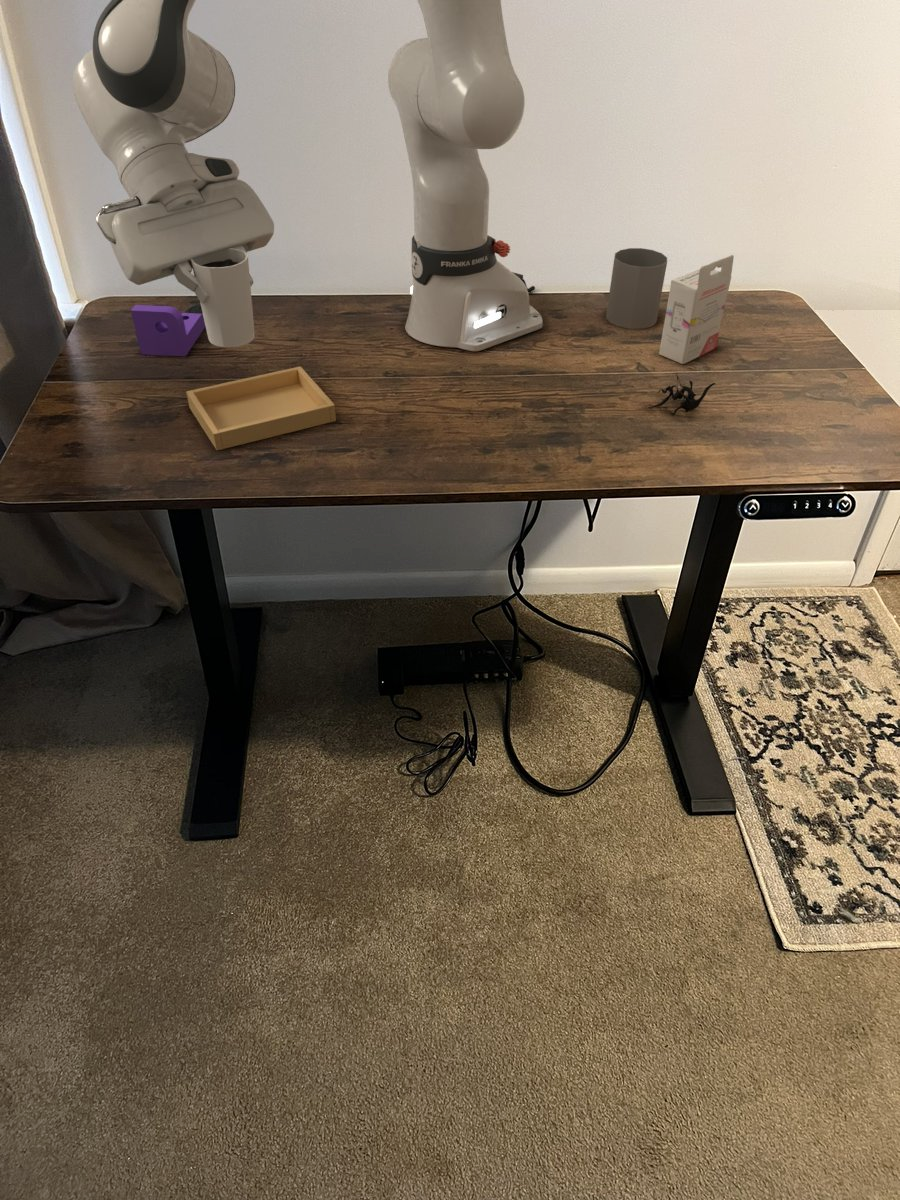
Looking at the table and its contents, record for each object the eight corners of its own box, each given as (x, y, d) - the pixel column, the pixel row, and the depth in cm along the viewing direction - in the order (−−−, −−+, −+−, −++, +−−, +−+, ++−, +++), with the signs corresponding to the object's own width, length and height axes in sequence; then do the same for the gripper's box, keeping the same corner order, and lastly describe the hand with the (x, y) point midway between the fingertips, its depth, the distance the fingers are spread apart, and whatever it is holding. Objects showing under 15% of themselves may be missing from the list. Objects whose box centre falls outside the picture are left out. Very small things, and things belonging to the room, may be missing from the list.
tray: (302, 381, 125) (300, 365, 124) (336, 420, 117) (334, 404, 115) (189, 407, 119) (185, 391, 117) (216, 450, 111) (213, 434, 109)
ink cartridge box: (690, 339, 138) (709, 245, 128) (715, 349, 135) (738, 254, 125) (656, 354, 134) (674, 258, 124) (682, 365, 131) (702, 268, 121)
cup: (620, 303, 148) (629, 244, 141) (664, 316, 144) (676, 255, 138) (597, 320, 143) (605, 259, 136) (642, 333, 139) (652, 271, 132)
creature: (637, 410, 123) (673, 424, 116) (637, 372, 120) (675, 385, 114) (680, 398, 125) (719, 411, 119) (682, 361, 123) (721, 373, 116)
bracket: (185, 356, 131) (176, 312, 126) (141, 354, 131) (130, 310, 126) (207, 323, 139) (200, 281, 135) (166, 321, 140) (157, 279, 135)
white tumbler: (215, 324, 112) (202, 245, 106) (265, 328, 112) (255, 249, 105) (196, 346, 107) (182, 265, 101) (248, 351, 107) (237, 270, 100)
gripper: (93, 192, 95) (160, 304, 97) (244, 157, 107) (303, 258, 108) (83, 224, 101) (147, 330, 102) (228, 187, 112) (284, 283, 113)
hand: (228, 293), depth 105 cm, fingers closed on white tumbler, 4 cm apart
